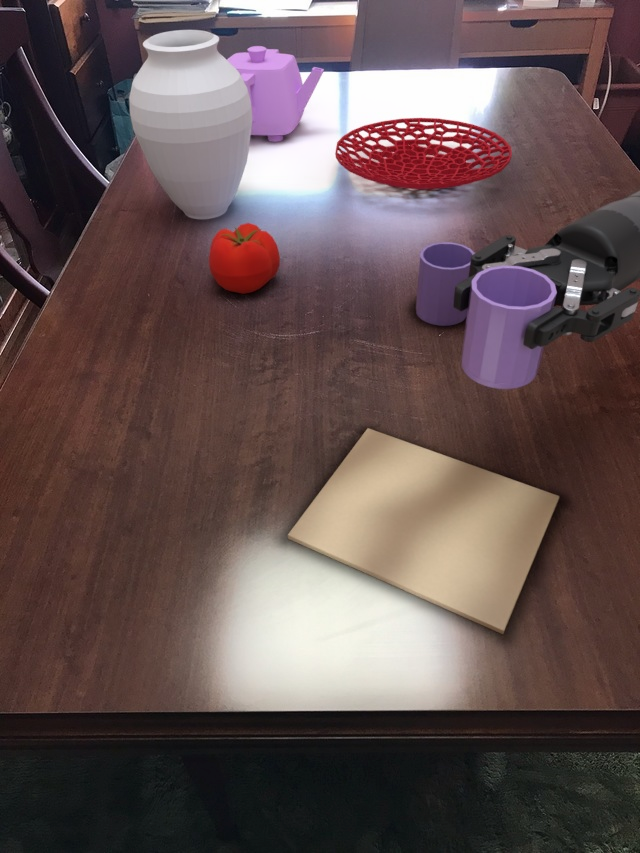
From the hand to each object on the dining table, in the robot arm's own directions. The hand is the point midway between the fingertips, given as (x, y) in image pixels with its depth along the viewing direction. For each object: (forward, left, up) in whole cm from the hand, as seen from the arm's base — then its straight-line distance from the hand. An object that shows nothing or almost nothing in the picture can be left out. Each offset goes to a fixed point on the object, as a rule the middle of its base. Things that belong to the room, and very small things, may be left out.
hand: (492, 318), depth 55 cm
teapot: (+69, -70, -18) cm, 100 cm away
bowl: (+32, -63, -18) cm, 73 cm away
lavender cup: (-1, -2, -6) cm, 6 cm away
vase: (+58, -36, -18) cm, 70 cm away
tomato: (+39, -20, -18) cm, 47 cm away
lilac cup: (+13, -25, -18) cm, 34 cm away
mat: (+1, +7, -18) cm, 19 cm away
